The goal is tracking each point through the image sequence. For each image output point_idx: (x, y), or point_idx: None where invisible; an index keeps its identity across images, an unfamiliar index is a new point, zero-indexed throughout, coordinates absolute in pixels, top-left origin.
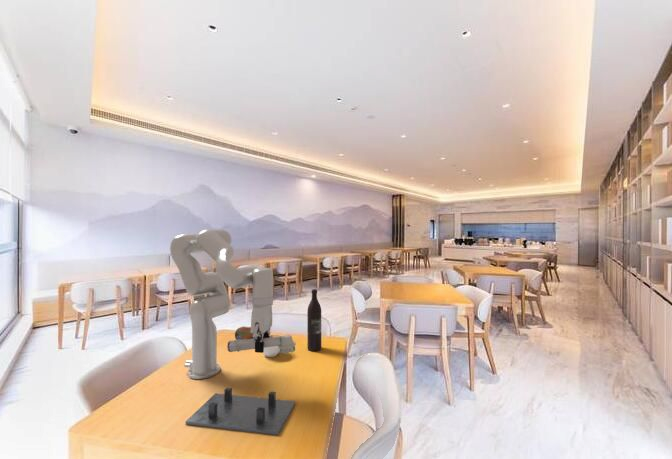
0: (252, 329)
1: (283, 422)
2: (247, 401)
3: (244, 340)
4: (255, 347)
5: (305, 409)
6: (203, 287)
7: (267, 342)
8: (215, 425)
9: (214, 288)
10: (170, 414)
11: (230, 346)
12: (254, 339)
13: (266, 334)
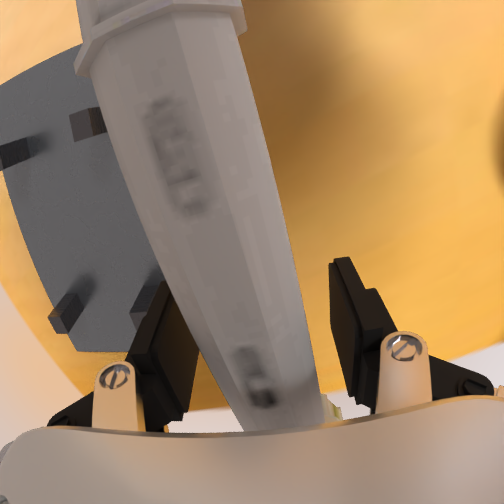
0: (8, 496)
1: (107, 351)
2: (129, 200)
3: (144, 142)
4: (151, 312)
5: (195, 370)
6: None
7: (235, 411)
8: (9, 188)
9: None
10: (14, 4)
11: (77, 1)
12: (62, 410)
13: (365, 396)
